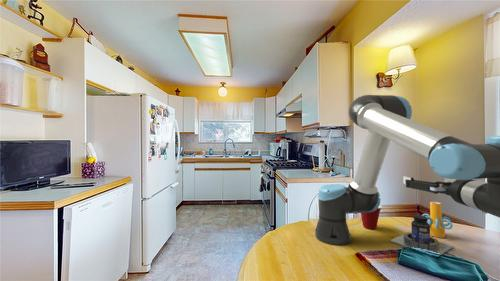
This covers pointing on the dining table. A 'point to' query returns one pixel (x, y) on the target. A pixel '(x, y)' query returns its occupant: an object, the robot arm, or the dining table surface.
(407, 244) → the duct plate
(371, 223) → the plastic cup
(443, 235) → the cylinder
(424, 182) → the robot arm
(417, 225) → the pill bottle
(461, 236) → the dining table surface
